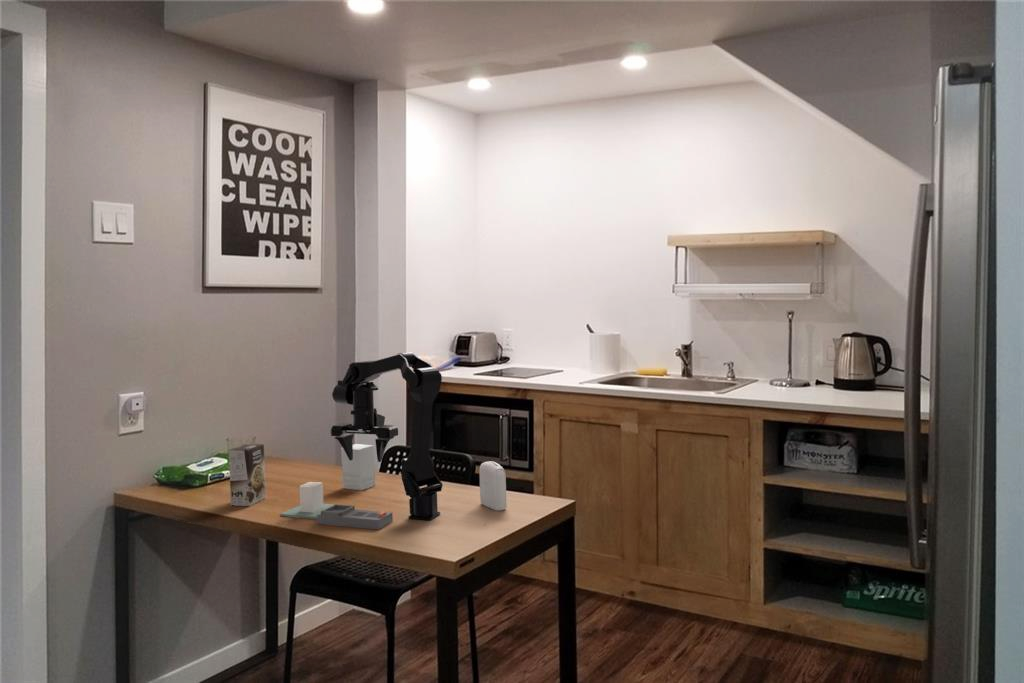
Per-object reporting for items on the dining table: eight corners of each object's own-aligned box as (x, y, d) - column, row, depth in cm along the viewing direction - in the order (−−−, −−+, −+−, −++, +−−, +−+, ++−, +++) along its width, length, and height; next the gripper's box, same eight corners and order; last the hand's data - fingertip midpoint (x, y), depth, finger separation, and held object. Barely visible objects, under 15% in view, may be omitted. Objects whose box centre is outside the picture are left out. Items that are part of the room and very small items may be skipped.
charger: (323, 507, 221) (322, 482, 221) (313, 512, 216) (312, 486, 216) (311, 506, 222) (310, 481, 222) (300, 511, 218) (299, 485, 217)
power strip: (392, 521, 208) (392, 508, 208) (378, 529, 202) (378, 516, 201) (332, 516, 214) (332, 503, 214) (317, 523, 208) (316, 510, 208)
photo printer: (478, 503, 224) (477, 459, 223) (492, 501, 226) (491, 457, 225) (494, 512, 215) (493, 466, 214) (508, 509, 217) (507, 464, 216)
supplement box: (376, 485, 248) (375, 445, 247) (360, 491, 241) (358, 449, 241) (358, 483, 251) (356, 443, 251) (341, 488, 245) (340, 447, 244)
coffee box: (251, 506, 226) (248, 450, 225) (230, 506, 228) (227, 449, 227) (267, 498, 235) (264, 443, 234) (247, 497, 237) (244, 443, 236)
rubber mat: (343, 507, 223) (343, 505, 223) (318, 519, 212) (318, 517, 212) (306, 504, 227) (306, 502, 227) (280, 516, 216) (280, 513, 216)
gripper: (406, 402, 230) (408, 456, 231) (349, 401, 236) (351, 453, 237) (387, 408, 219) (389, 465, 220) (328, 406, 226) (330, 461, 227)
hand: (365, 461), depth 227 cm, fingers open, 9 cm apart
